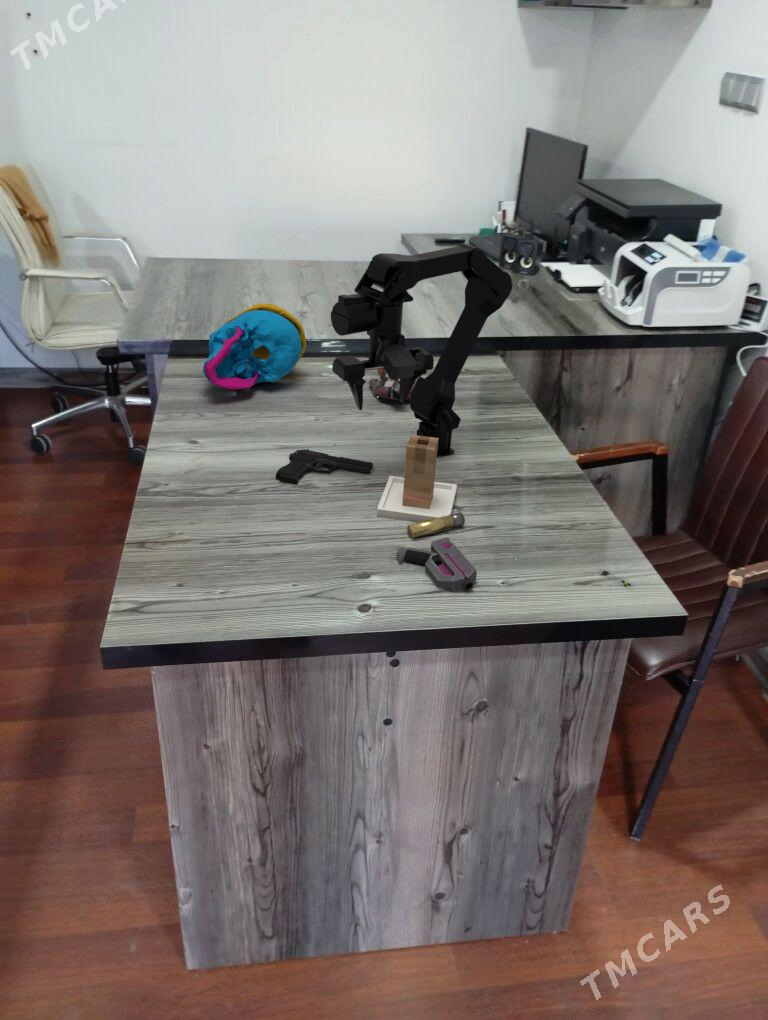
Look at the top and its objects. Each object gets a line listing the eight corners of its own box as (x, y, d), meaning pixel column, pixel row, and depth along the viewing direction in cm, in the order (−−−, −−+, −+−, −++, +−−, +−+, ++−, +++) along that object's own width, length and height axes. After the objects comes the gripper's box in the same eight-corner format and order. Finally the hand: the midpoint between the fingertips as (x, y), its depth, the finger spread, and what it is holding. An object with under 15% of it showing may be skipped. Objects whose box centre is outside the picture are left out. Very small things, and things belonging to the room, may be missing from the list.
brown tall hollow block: (406, 492, 156) (410, 434, 150) (433, 496, 156) (438, 438, 150) (401, 505, 152) (406, 446, 146) (429, 509, 151) (435, 450, 145)
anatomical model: (217, 416, 187) (213, 385, 209) (323, 382, 189) (308, 355, 211) (190, 342, 179) (189, 318, 201) (300, 308, 181) (287, 288, 204)
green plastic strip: (635, 583, 135) (629, 588, 134) (634, 586, 135) (628, 591, 134) (602, 566, 139) (595, 571, 137) (601, 570, 139) (595, 574, 138)
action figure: (422, 353, 213) (435, 393, 186) (396, 387, 217) (404, 431, 190) (390, 329, 209) (398, 367, 183) (364, 364, 213) (368, 406, 187)
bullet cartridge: (456, 521, 149) (458, 509, 148) (464, 527, 148) (465, 516, 146) (406, 533, 145) (407, 522, 144) (413, 540, 143) (414, 528, 142)
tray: (389, 482, 161) (389, 475, 160) (456, 491, 159) (457, 484, 158) (376, 516, 150) (377, 509, 149) (448, 526, 148) (449, 519, 147)
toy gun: (426, 607, 129) (483, 590, 132) (426, 591, 127) (484, 573, 131) (391, 559, 140) (444, 544, 143) (390, 543, 138) (444, 528, 141)
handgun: (359, 489, 155) (374, 458, 165) (273, 472, 158) (293, 442, 167) (358, 501, 157) (373, 470, 167) (273, 484, 159) (293, 454, 169)
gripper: (359, 347, 142) (355, 430, 150) (452, 335, 150) (444, 415, 157) (332, 326, 150) (330, 406, 158) (421, 316, 158) (415, 393, 166)
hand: (381, 405), depth 160 cm, fingers open, 9 cm apart
